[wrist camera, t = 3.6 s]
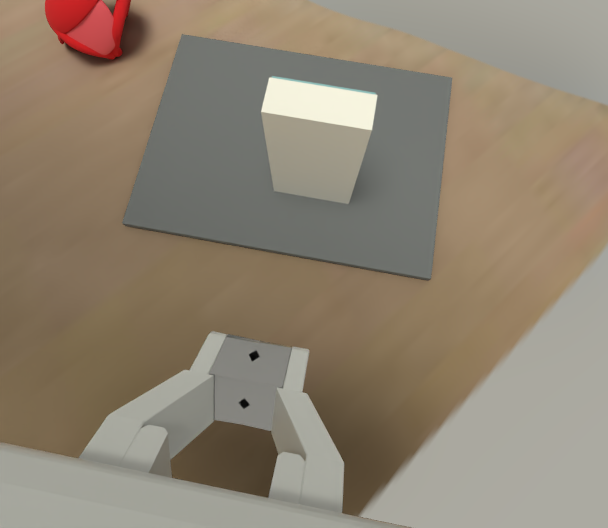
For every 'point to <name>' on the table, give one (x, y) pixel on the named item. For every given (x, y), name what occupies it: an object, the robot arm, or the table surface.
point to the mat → (256, 169)
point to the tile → (316, 137)
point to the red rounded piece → (88, 25)
